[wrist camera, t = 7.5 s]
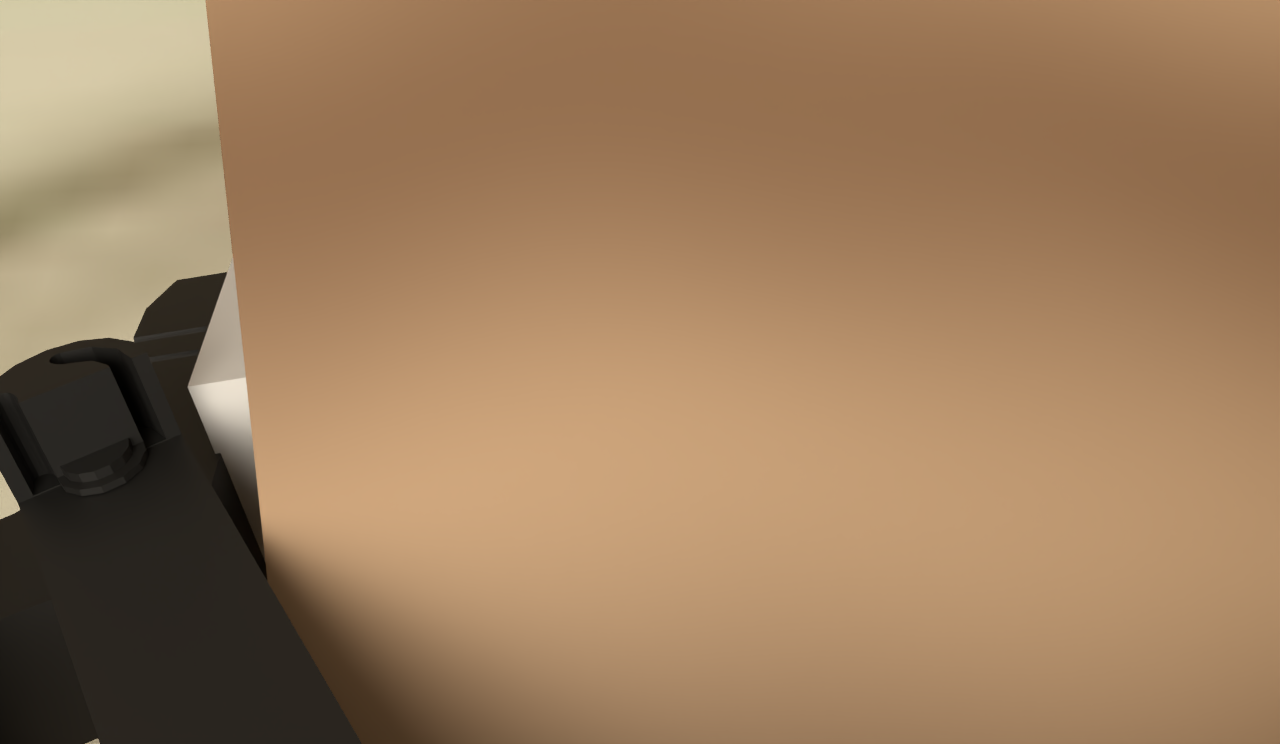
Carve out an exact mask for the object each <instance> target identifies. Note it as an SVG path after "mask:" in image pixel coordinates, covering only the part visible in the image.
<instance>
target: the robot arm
mask: <svg viewBox="0 0 1280 744" xmlns="http://www.w3.org/2000/svg"><path fill="white" fill-rule="evenodd" d="M0 471H1V473H2V475H3V477H4V478H5V480H6V482H7V484H8V486H9V488H10V489H11V491H12V493H13V495H14V497H15V498H16V500H17V502H18V504H19V507H20V511H18V512H16V513H15V514H12V515H10V516H8V517H5V518H3V519H1V520H0V744H85V743H87V742H90V741H92V740H94V739H97V738H98V739H99V741H100V744H362V743H361V741H360V740H359V738H358V736H357V734H356V733H355V731H354V729H353V728H352V726H351V724H350V722H349V721H348V719H347V717H346V715H345V714H344V712H343V710H342V709H341V707H340V705H339V703H338V702H337V700H336V698H335V697H334V695H333V693H332V691H331V690H330V688H329V686H328V685H327V683H326V681H325V679H324V678H323V676H322V674H321V673H320V671H319V669H318V667H317V666H316V664H315V662H314V661H313V659H312V657H311V655H310V654H309V652H308V650H307V648H306V647H305V645H304V643H303V642H302V640H301V638H300V636H299V635H298V633H297V631H296V630H295V628H294V626H293V624H292V623H291V621H290V619H289V618H288V616H287V614H286V612H285V611H284V609H283V607H282V606H281V604H280V602H279V600H278V599H277V597H276V595H275V593H274V592H273V590H272V588H271V587H270V585H269V583H268V581H267V572H266V562H265V553H264V543H263V534H262V525H261V515H260V506H259V496H258V487H257V478H256V468H255V459H254V450H253V440H252V431H251V421H250V412H249V403H248V393H247V384H246V375H245V365H244V356H243V346H242V337H241V328H240V318H239V309H238V299H237V290H236V281H235V271H234V262H233V258H232V261H231V264H230V266H229V269H228V272H225V273H219V274H213V275H207V276H201V277H194V278H188V279H182V280H177V281H176V282H175V283H173V284H172V285H171V286H170V287H169V288H168V289H167V290H166V291H165V292H164V293H163V294H162V295H161V296H160V297H158V298H157V299H156V300H155V301H154V302H153V303H152V304H151V305H150V306H149V307H148V308H147V309H146V311H145V313H144V315H143V317H142V320H141V322H140V324H139V327H138V329H137V331H136V333H135V336H134V342H131V341H125V340H119V339H113V338H103V339H93V340H83V341H77V342H73V343H70V344H67V345H63V346H60V347H56V348H53V349H49V350H46V351H44V352H42V353H40V354H38V355H36V356H33V357H31V358H29V359H27V360H25V361H23V362H21V363H19V364H17V365H15V366H14V367H12V368H11V369H9V370H8V371H7V372H5V373H4V374H3V375H1V376H0Z"/></svg>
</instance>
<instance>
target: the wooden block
mask: <svg viewBox="0 0 1280 744" xmlns="http://www.w3.org/2000/svg"><path fill="white" fill-rule="evenodd" d="M206 9H207V18H208V27H209V37H210V46H211V56H212V65H213V74H214V84H215V93H216V103H217V112H218V121H219V131H220V140H221V149H222V159H223V168H224V178H225V187H226V196H227V206H228V215H229V224H230V234H231V243H232V253H233V262H234V271H235V281H236V290H237V299H238V309H239V318H240V328H241V337H242V346H243V356H244V365H245V375H246V384H247V393H248V403H249V412H250V421H251V431H252V440H253V450H254V459H255V468H256V478H257V487H258V496H259V506H260V515H261V525H262V534H263V543H264V553H265V562H266V572H267V581H268V583H269V585H270V587H271V588H272V590H273V592H274V593H275V595H276V597H277V599H278V600H279V602H280V604H281V606H282V607H283V609H284V611H285V612H286V614H287V616H288V618H289V619H290V621H291V623H292V624H293V626H294V628H295V630H296V631H297V633H298V635H299V636H300V638H301V640H302V642H303V643H304V645H305V647H306V648H307V650H308V652H309V654H310V655H311V657H312V659H313V661H314V662H315V664H316V666H317V667H318V669H319V671H320V673H321V674H322V676H323V678H324V679H325V681H326V683H327V685H328V686H329V688H330V690H331V691H332V693H333V695H334V697H335V698H336V700H337V702H338V703H339V705H340V707H341V709H342V710H343V712H344V714H345V715H346V717H347V719H348V721H349V722H350V724H351V726H352V728H353V729H354V731H355V733H356V734H357V736H358V738H359V740H360V741H361V743H362V744H1280V0H206Z"/></svg>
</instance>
